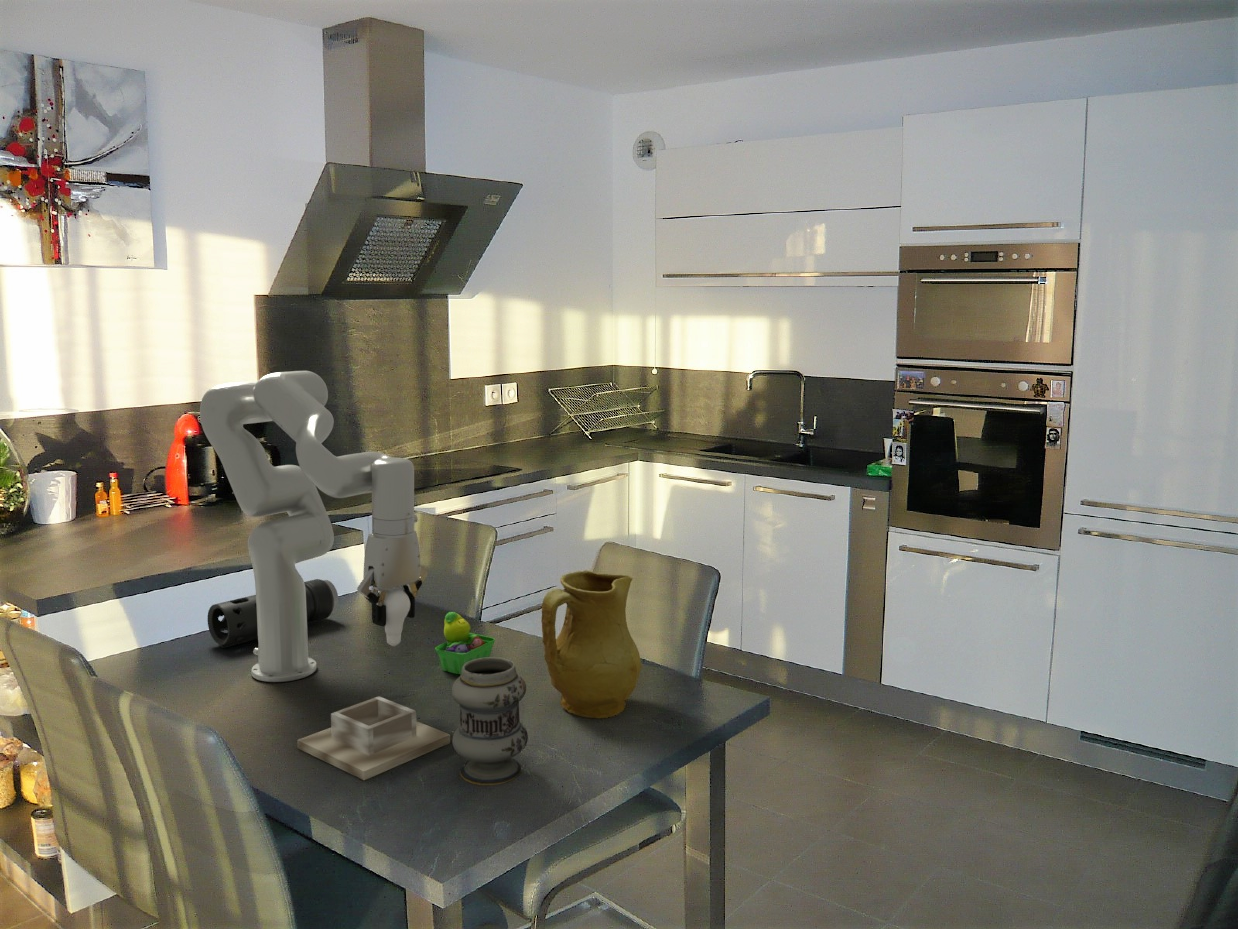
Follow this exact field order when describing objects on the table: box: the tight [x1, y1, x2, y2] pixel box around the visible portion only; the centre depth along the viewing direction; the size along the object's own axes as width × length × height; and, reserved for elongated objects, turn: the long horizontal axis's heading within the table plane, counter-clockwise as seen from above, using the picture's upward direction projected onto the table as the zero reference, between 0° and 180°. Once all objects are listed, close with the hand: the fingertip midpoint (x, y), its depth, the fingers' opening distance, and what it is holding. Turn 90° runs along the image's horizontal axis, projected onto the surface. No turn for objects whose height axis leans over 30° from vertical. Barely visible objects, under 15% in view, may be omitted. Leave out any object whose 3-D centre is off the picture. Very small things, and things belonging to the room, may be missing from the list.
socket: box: [297, 695, 451, 781], centre depth 172 cm, size 18×18×6 cm
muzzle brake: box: [207, 578, 339, 649], centre depth 229 cm, size 10×28×10 cm, turn 141°
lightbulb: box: [383, 587, 410, 647], centre depth 188 cm, size 6×6×11 cm
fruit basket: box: [435, 611, 496, 676], centre depth 210 cm, size 11×9×11 cm
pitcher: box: [540, 569, 642, 719], centre depth 188 cm, size 17×19×25 cm
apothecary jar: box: [451, 656, 529, 786], centre depth 162 cm, size 12×12×18 cm
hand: (393, 619), depth 188 cm, fingers closed on lightbulb, 6 cm apart
